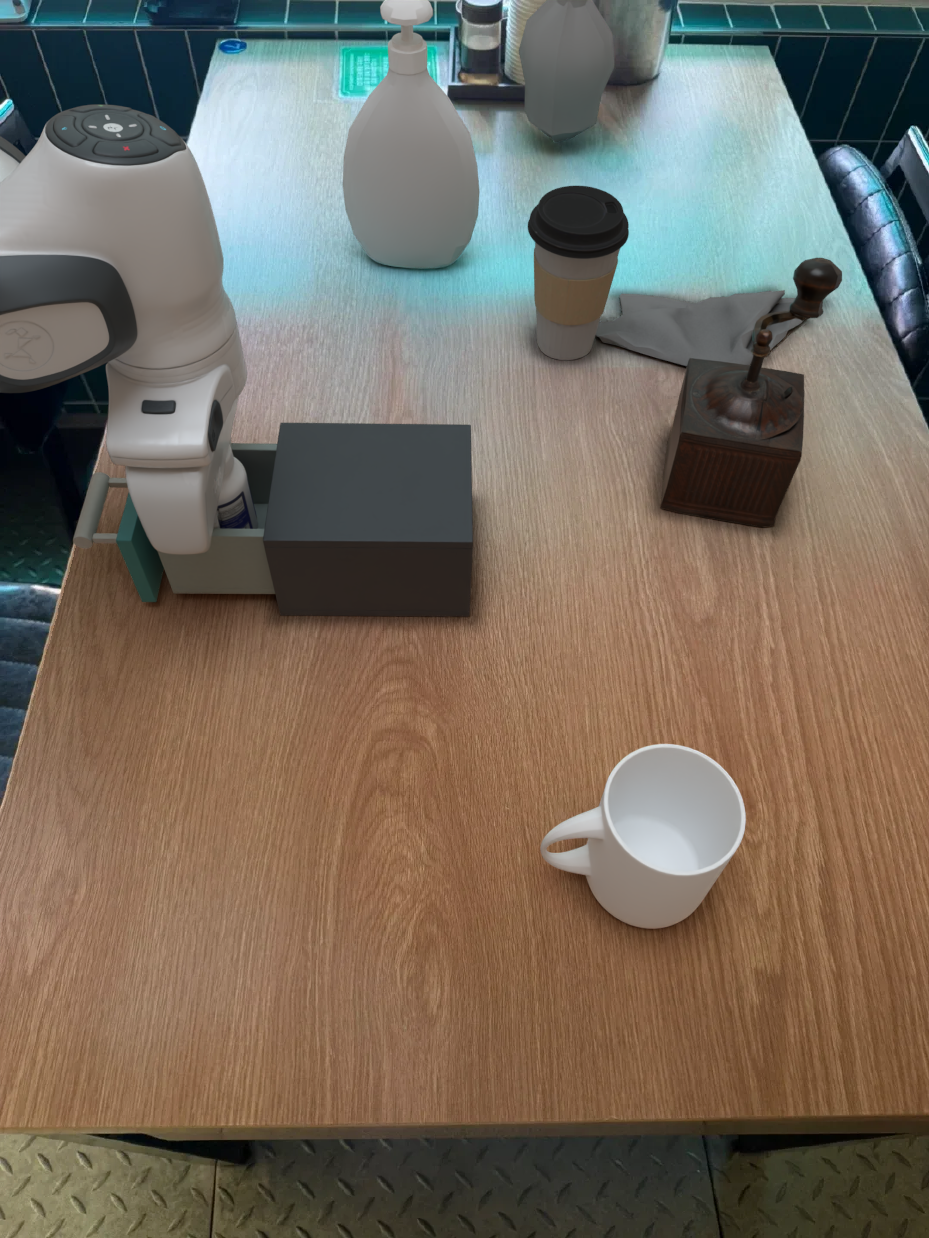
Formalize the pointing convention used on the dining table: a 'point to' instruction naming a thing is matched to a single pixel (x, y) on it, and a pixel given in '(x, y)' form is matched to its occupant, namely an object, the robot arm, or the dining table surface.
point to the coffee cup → (574, 265)
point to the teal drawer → (220, 570)
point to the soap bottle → (410, 159)
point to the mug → (655, 835)
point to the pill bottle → (236, 497)
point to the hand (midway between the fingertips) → (216, 499)
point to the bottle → (565, 66)
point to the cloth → (695, 326)
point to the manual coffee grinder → (743, 422)
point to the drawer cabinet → (371, 520)
